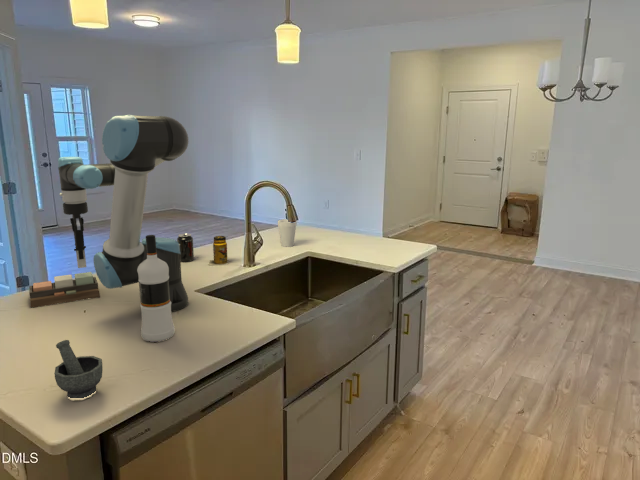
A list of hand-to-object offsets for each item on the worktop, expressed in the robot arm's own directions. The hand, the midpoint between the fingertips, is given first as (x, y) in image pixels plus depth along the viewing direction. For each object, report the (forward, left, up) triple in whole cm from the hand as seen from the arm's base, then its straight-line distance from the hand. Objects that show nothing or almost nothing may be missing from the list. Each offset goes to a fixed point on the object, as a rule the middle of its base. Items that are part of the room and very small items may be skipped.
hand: (82, 267), depth 168 cm
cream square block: (-3, +6, -6) cm, 9 cm away
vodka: (-40, -34, -10) cm, 53 cm away
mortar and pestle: (-69, -23, -10) cm, 73 cm away
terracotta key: (-5, +12, -7) cm, 15 cm away
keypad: (-3, +6, -10) cm, 12 cm away
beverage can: (+41, -29, -10) cm, 52 cm away
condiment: (+36, -44, -10) cm, 58 cm away
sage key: (0, 0, -6) cm, 6 cm away
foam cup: (+65, -76, -10) cm, 101 cm away
